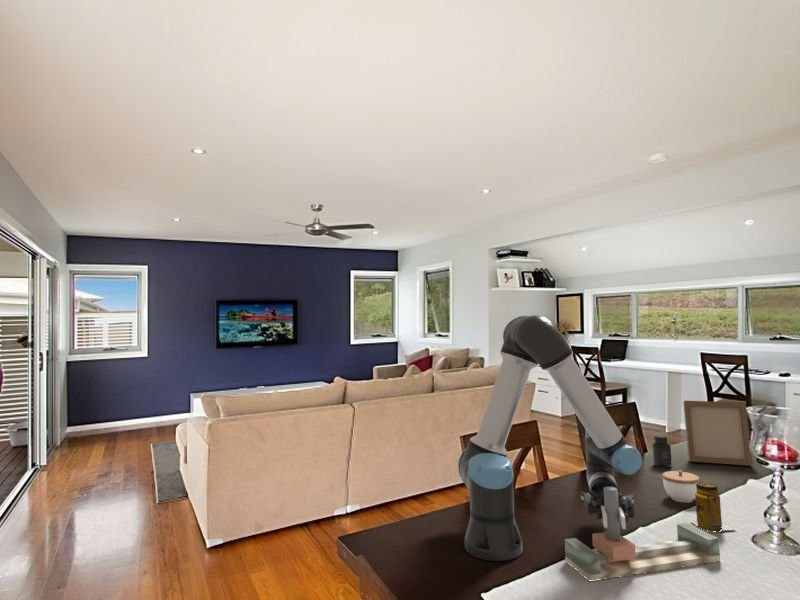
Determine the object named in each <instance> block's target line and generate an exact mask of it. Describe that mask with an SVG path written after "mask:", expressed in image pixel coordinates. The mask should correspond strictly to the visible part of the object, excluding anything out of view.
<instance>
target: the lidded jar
mask: <svg viewBox="0 0 800 600" xmlns="http://www.w3.org/2000/svg"><path fill="white" fill-rule="evenodd" d="M661 476H662V482H663V487H664V490H665V493H666V494H667V495H668V496H669V497H670V498H671V500H672V501H674V502H679V503H685V504H686V503H688V504H689V503H692V502H693V501H694V500H696V498H695V493H696V492H697V491H696V489H697V487H696V484H697V483H700V477H699V476H698V475H697V474H694V473H691V472H686V471H683V470H681V469H679V470H677V471H676V470H670V471H664V472H663V473H662V474H661Z"/></svg>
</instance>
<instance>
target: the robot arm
mask: <svg viewBox="0 0 800 600" xmlns="http://www.w3.org/2000/svg"><path fill="white" fill-rule="evenodd" d="M502 339H503V343H502V346H501V348H500V352H499V353H500V356H501V358H502V362H501V364H500V367H499V370H498V373H497V375H496V378H495V381H494V385H493V387H492V390H491V393H490V397H489V399H488V402H487V405H486V408H485V411H484V414H483V416H482V419H481V422H480V425H479V428H478V430H477V434H476V435H474V436H472V437H470V439H469V441H468V442H467V443H468V444H467V446H466V448H465V449H464V450H463V451H462V452H461V454H460V456H459V457H458V458H459V459H458V463H457V464H458V465H457V466H458V467H457V468H458V473H459V477H460V478H461V481H462V482H463V483H464V485H465V486H466V488H467V489H468V493H469V510H470V511H469V512H470V513H469V514H470V517H469V521H468V526H467V529H466V531H465V536H464V549H465V551H466V552H467V553H468V554H469V555H470V556H473V557H474V558H477V559H481V560H485V561H493V562H503V561H510V560H513V559H516V558H518V557H520V555H522V553H523V547H524V546H523V540H522V537H521V533H520V530H519V529H518V524H517V523H516V519H515V495H514V491H515V490H514V475H515V474H514V470H513V464H512V461H510V459H508V458H507V456H508V451H507V449H506V446H505V445H506V443H507V439H508V437H509V434H510V432H511V428H512V426H513V424H514V423H513V422H514V419H515V418H516V417H515V416H516V414H517V410H518V408H519V405H520V401H521V399H522V396H523V393H524V391H525V387H526V384H527V381H528V379H529V376H530V373H531V370H533V369H534V368H537V367H538V366H539V367H540V368H541V370H542V371H547V372H548V374H549V375H550V377H551V379H552V380H553V381H554V383H555V384H556V386H557V387H558V389H559V390H560V392H561V394H563V397H564V398H565V400H566V401H567V403H568V404H569V406H570V408H571V409H572V410H573V412H574V413H575V415H576V416H577V417H578V419H579V421H580V422H581V424H582V426H583V427H584V429H585V433H584V434H585V435H584V436H585V437H584V441H585V454H586V473H585V475H586V476H585V478H586V481H587V484H588V487H589V492H585V491H580V502H581V503H583V504H584V506H585V509H586V512H587V514H588V515H594V514H595V517H596V519H597V520H601V521H602V525H603V528H608V526H607V514H606V511H605V508H604V489H603V488H604V487H614V488H617V489H618V506H619V525H620V527H621V529H622V530H626V529H627V527H626V526H627V525H626V522H629V519H630V518H632V519H634V518H635V512H634V511H635V510H634V508H635V507H634V506H635V498H634V495H633V494H628V495H625V496H624V494H622V493H621V491H620V489H619V485H618V483H617V482H616V480H615V471H616V472H618V473H621V474H624V475H630V476H631V475H633V474H635V473H638V472H639V470H640V469H641V468H642V464H643V459H642V454H641V453H640V452H639V450H638V449H637V448H636V447H634V446H632V445H631V444H630V443H628V441H627V439H626V438H625V436H624V435H623V434H622V432H621V430H620V429H619V427H618V426H617V424H616V422H615V421H614V419H612V416H611V415H610V414H609V412H608V411H607V409H606V407H605V406H604V405H603V403H602V401H601V400H600V398H599V396H598V395H597V393H596V392H595V390H594V389H593V387H592V385H591V384H590V383H589V381H588V380H587V378H586V376H585V375H584V373H583V372H582V370H581V369H580V367H579V365H578V364H577V362H576V361H575V360H574V358H573V355H574V351H573V349H572V348H571V346H570V345H569V343H568V341H566V338H565V336H564V335H563V333H562V332H561V331H560V330H559V329H558V326H556V325H555V323H553V321H551V320H550V319H549V318H547V317H545V316H542V315H538V314H537V315H521V316H517V317H514V318H513V319H511V320H510V321H509V322H508V323H507V324H506V325H505V327H504V329H503V333H502ZM593 502H594V503H595V505H594V503H593ZM623 502H624V503H623Z"/></svg>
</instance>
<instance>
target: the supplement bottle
mask: <svg viewBox="0 0 800 600" xmlns="http://www.w3.org/2000/svg"><path fill="white" fill-rule="evenodd" d="M653 438H654V439H653V443H652V444H651V447H652V449H651V450H652V462H653V463H652V464H653V466H654V465H655V466H654V467H656V466H658V467H657V468H660V467H663V468H662V469H670V468H671V467H672V466H673V462H672V446H671V444H670V443H669V442H668V436H666V435H662V434H660V435H657V434H656V435H654V436H653Z"/></svg>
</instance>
